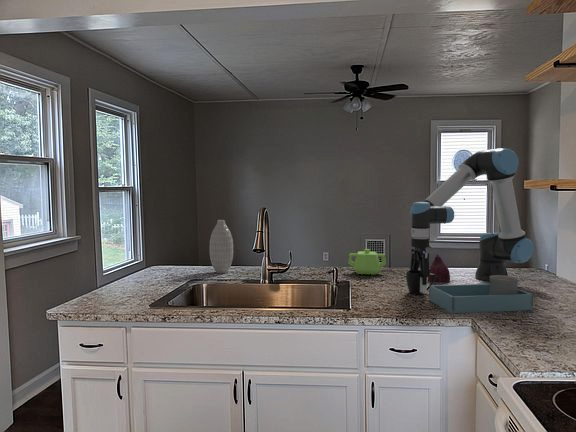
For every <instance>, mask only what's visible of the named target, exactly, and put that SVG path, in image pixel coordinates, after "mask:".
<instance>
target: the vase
mask: <svg viewBox="0 0 576 432" xmlns="http://www.w3.org/2000/svg"><path fill="white" fill-rule="evenodd" d="M216 221H217V222H216V224H215V226H214V228H213V230H212V232H211V234H210V239H209V258H210V262H211V267H212V268H213V270H214V271H215V273H217V274H227V273H228V271H229V270H230V268H231V266H232V262H233V260H234V239H233V236H232V232H231V231H230V229H229V227H228V226H227V224H226V221H225V220H224V219H218V220H216Z"/></svg>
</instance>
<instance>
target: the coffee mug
mask: <svg viewBox="0 0 576 432" xmlns="http://www.w3.org/2000/svg"><path fill="white" fill-rule="evenodd" d="M489 284H490V285H489V295H511V294H517V289H519V288H518V285H519V278H518V277H516V276H511V275H508V276H503V275H494V276H490V281H489Z"/></svg>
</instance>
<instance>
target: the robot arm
mask: <svg viewBox="0 0 576 432" xmlns="http://www.w3.org/2000/svg"><path fill="white" fill-rule="evenodd" d="M519 161H520V160H519V157H518V156H517V154H516V152H515V151H513V150H512V149H510V148H503V147H501V148H494V149H493V148H490V149H482V150H478V151H477V152H475V153H473V154H472V155H469V157H467V158H466V159H465V160H464V161H462V163H460V164H459V165H458V169H457V170H456V171H455V172H454V173H453V174H452V175H450V176H449V177H448V178H447V179H446V180H445V181H444V182H443V183H442V184H441V185H439V186H438V187H437V188H436V189H435V190H434V191H433V192H432V193H431V194H429V195H428V197H426V198H425V199H424V200H422V201H416V202H415V201H414V202H413V203H412V205H411V207H410V210H409V216H410V218H411V230H410V234H411V239H410V243H411V246H410V247H411V252H410V253H411V255H410V267H409V270H420V271H421V276H420V292H425V293H427V292H428V290H427V288H428V277H429V276H430V271H429V269H430V253H429V252H428V253H427V251H426V248H429V247H430V234H431V233H430V230H431V229H430V227H431V225H430V224H433V225H435V224H445V225H446V224H450V223H452V222H453V221H454V219H455V210H454V209H453V208H452V206H449V205H448V206H446V205H445V204H446V203H447V202H448V201H449V200H450V199H451V198H453V196H454V195H456V194H457V193H459V191H460V190H461V189H463V188H464V187H465V186H466V185H467V184H468V183H469V182H470V181H475V180H476V179H477V178H478V177H480V176H484V175H485V176H486V178H487V179H486V180H487V181H488V182H489V183H491V186H492V190H493V191H492V192H493V196H494V202H495V208H496V213H497V217H498V222H499V223H498V224H499V228H500V232H487V233H481V234H480V238H479V262H478V265H477V268H476V270H475V273H474V274H475V275H474V277H475V279H477V280H482V281H487V282H490V276H494V275H503V276H509V274H508V270H507V268H506V267H507V266H506V262H505V261H507V262H511V263H514V264H524V263H526V262H528V261H529V260H530V259H531V258H532V255H533V253H534V251H535V250H534V248H535V247H534V243H533V241H532V240H531V239H529V238H527V236H526V231H524V230H523V229H522V228H521V221H520V216H519V215H520V214H519V210H518V206H517V200H516V193H515V188H514V184H513V179H514V177H515V176H516V174H515V173H516V172H517V171H518V169H519V168H518V167H519V164H520V163H519Z"/></svg>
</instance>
